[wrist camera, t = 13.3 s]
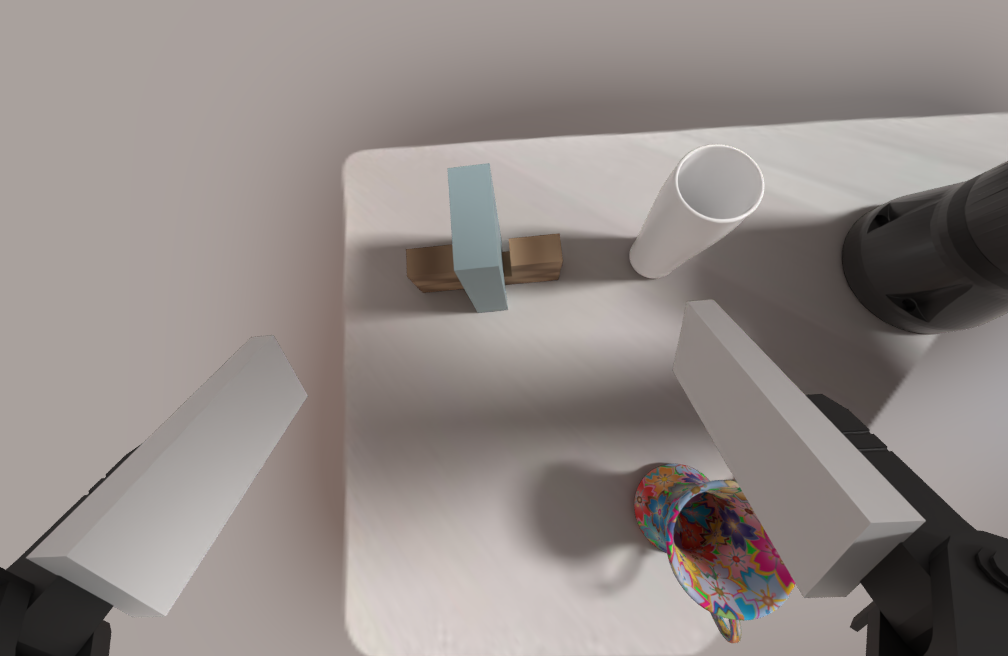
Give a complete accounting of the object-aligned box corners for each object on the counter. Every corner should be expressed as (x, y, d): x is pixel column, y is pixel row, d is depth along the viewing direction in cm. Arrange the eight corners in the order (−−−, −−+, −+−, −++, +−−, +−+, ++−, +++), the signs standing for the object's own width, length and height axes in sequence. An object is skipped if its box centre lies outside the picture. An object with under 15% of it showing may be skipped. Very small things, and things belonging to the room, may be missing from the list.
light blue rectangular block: (501, 237, 43) (489, 163, 30) (507, 309, 42) (498, 265, 28) (472, 241, 43) (447, 168, 30) (477, 312, 42) (454, 270, 28)
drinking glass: (688, 242, 42) (776, 157, 27) (671, 294, 41) (753, 235, 26) (632, 223, 43) (687, 131, 28) (613, 274, 42) (661, 206, 27)
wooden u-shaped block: (555, 255, 42) (559, 233, 37) (557, 279, 42) (562, 260, 36) (422, 269, 43) (406, 249, 37) (422, 292, 43) (406, 276, 37)
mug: (622, 460, 38) (659, 483, 27) (713, 456, 37) (786, 478, 27) (636, 588, 35) (682, 667, 25) (733, 585, 35) (822, 665, 24)
